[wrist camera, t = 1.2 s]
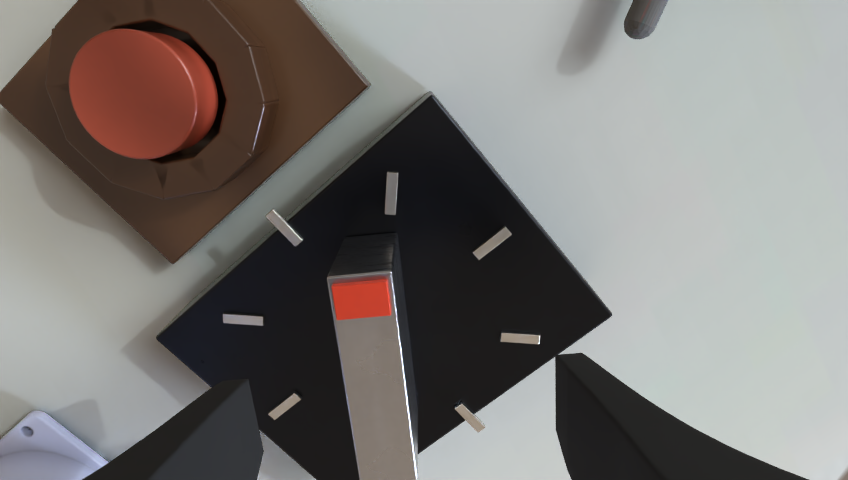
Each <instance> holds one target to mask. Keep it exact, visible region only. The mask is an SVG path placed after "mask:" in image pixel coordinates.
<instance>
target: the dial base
mask: <svg viewBox="0 0 848 480" xmlns="http://www.w3.org/2000/svg"><path fill="white" fill-rule="evenodd" d="M265 217H266V218H267V219H268V220H269V221H270V222H271V223H272V224H273V225H274V226H275V228H274V229H272V230H271V231H270V232H269V233H268V234H267V235H266V236H265V237H263V238H262V239H261V240H260V241H259V242H258V243H257V244H255V245H254V246H253V247H252V248H251V249H250V250H249V251H248V252H246V253H245V254H244V255H243V256H242V257H241V258H240V259H239V260H237V261H236V262H235V263H234V264H233V265H232V266H231V267H229V268H228V269H227V270H226V271H225V272H224V273H223V274H222V275H220V276H219V277H218V278H217V279H216V280H215V281H214V282H212V283H211V284H210V285H209V286H208V287H207V288H206V289H205V290H203V291H202V292H201V293H200V294H199V295H198V296H197V297H195V298H194V299H193V300H192V301H191V302H190V303H189V304H188V305H187V306H186V307H185V308H184V309H183V310H182V311H181V312H180V313H179V314H178V315H177V316H176V317H175V318H174V319H173V320H172V321H171V322H170V323H169V324H168V325H167V326H166V327H165V328H164V329H163V330H162V331H161V332H160V333H159V334H158V335H157V337H156V339H157V340H158V341H159V342H160V343H161V344H163V345H164V346H165V347H166V348H167V349H168V350H169V351H171V352H172V353H173V354H174V355H175V356H176V357H177V358H179V359H180V360H181V361H182V362H183V363H184V364H185V365H186V366H188V367H189V368H190V369H191V370H192V371H193V372H194V373H196V374H197V375H198V376H199V377H200V378H201V379H202V380H204V381H205V382H206V383H207V384H208V385H209V386H210V387H214V386H215V385H217V384H218V383H220V382H222V381H227V380H240V379H248V380H249V385H250V390H251V394H252V399H253V404H254V408H255V413H256V418H257V422H258V427H259V430H260V431H262V432H263V433H264V434H265V435H266V436H267V437H268V438H270V439H271V440H272V441H273V442H274V443H275V444H276V445H278V446H279V447H280V448H281V449H282V450H283V451H284V452H286V453H287V454H288V455H289V456H290V457H291V458H292V459H294V460H295V461H296V462H297V463H298V464H299V465H300V466H301V467H303V468H304V469H305V470H306V471H307V472H308V473H309V474H311V475H312V476H313V477H314V478H315V479H316V480H360V479H359V473H358V466H357V460H356V454H355V448H354V442H353V436H352V430H351V424H350V418H349V412H348V406H347V400H346V393H345V387H344V381H343V375H342V369H341V363H340V357H339V351H338V345H337V339H336V333H335V326H334V320H333V314H332V308H331V302H330V296H329V290H328V284H327V276H328V274H329V272H330V269H331V267H332V265H333V263H334V260H335V258H336V256H337V254H338V251H339V249H340V247H341V245H342V242H343V240H344V238H346V237H354V236H365V235H376V234H386V233H397V234H398V242H399V251H400V259H401V268H402V277H403V285H404V294H405V302H406V311H407V320H408V328H409V337H410V346H411V354H412V363H413V371H414V380H415V389H416V397H417V406H418V454H419V453H420V452H422V451H423V450H424V449H426V448H427V447H429V446H430V445H431V444H433V443H434V442H436V441H437V440H438V439H440V438H441V437H443V436H444V435H445V434H447V433H448V432H450V431H451V430H452V429H454V428H455V427H457V426H458V425H460V424H461V423H462V422H464V421H465V420H466V421H467V422H468V423H469V424H470V425H471V426H472V427H473V428H474V429H475V430H476V431H477V432H480V431H481V430H482V429H484V428H485V425H484V424H483V423H482V422H481V421H480V420H479V419H478V418H477V417H476V416H475V415H474V414H475V413H476V412H478V411H479V410H481V409H482V408H483V407H485V406H486V405H488V404H489V403H490V402H492V401H493V400H495V399H496V398H497V397H499V396H500V395H502V394H503V393H504V392H506V391H507V390H509V389H510V388H512V387H513V386H514V385H516V384H517V383H519V382H520V381H521V380H523V379H524V378H526V377H527V376H528V375H530V374H531V373H533V372H534V371H535V370H537V369H538V368H540V367H541V366H542V365H544V364H545V363H547V362H548V361H549V360H551V359H552V358H554V357H555V355H558V354H559V353H561V352H562V351H564V350H565V349H566V348H568V347H569V346H571V345H572V344H573V343H575V342H576V341H578V340H579V339H580V338H582V337H583V336H585V335H586V334H587V333H589V332H590V331H592V330H593V329H594V328H596V327H597V326H599V325H600V324H601V323H603V322H604V321H606V320H607V319H609V318H610V317H611V316H612V313H611V312H610V310H609V309H608V308H607V307H606V305H605V304H604V303H603V302H602V300H601V299H600V298H599V296H598V295H597V294H596V293H595V291H594V290H593V289H592V288H591V286H590V285H589V284H588V283H587V281H586V280H585V279H584V278H583V276H582V275H581V274H580V273H579V272H578V270H577V269H576V268H575V267H574V265H573V264H572V263H571V262H570V261H569V259H568V258H567V257H566V256H565V254H564V253H563V252H562V251H561V250H560V248H559V247H558V246H557V245H556V243H555V242H554V241H553V240H552V238H551V237H550V236H549V235H548V234H547V232H546V231H545V230H544V229H543V227H542V226H541V225H540V224H539V223H538V221H537V220H536V219H535V218H534V216H533V215H532V214H531V213H530V212H529V210H528V209H527V208H526V207H525V205H524V204H523V203H522V202H521V201H520V199H519V198H518V197H517V196H516V194H515V193H514V192H513V191H512V189H511V188H510V187H509V186H508V185H507V183H506V182H505V181H504V180H503V178H502V177H501V176H500V175H499V174H498V172H497V171H496V170H495V169H494V167H493V166H492V165H491V164H490V163H489V161H488V160H487V159H486V158H485V156H484V155H483V154H482V153H481V151H480V150H479V149H478V148H477V147H476V145H475V144H474V143H473V142H472V140H471V139H470V138H469V137H468V136H467V134H466V133H465V132H464V131H463V129H462V128H461V127H460V126H459V125H458V123H457V122H456V121H455V120H454V118H453V117H452V116H451V115H450V114H449V112H448V111H447V110H446V109H445V107H444V106H443V105H442V104H441V102H440V101H439V100H438V99H437V98H436V96H435V95H434V94H433V93H432V92H431V91H429V92H428V93H426V94H425V95H424V96H423V97H422V98H421V99H420V100H419V101H417V102H416V103H415V104H414V105H413V106H412V107H411V108H409V109H408V110H407V111H406V112H405V113H404V114H403V115H402V116H400V117H399V118H398V119H397V120H396V121H395V122H394V123H392V124H391V125H390V126H389V127H388V128H387V129H386V130H385V131H383V132H382V133H381V134H380V135H379V136H378V137H377V138H375V139H374V140H373V141H372V142H371V143H370V144H369V145H368V146H366V147H365V148H364V149H363V150H362V151H361V152H360V153H359V154H357V155H356V156H355V157H354V158H353V159H352V160H351V161H349V162H348V163H347V164H346V165H345V166H344V167H343V168H342V169H340V170H339V171H338V172H337V173H336V174H335V175H334V176H332V177H331V178H330V179H329V180H328V181H327V182H326V183H325V184H323V185H322V186H321V187H320V188H319V189H318V190H317V191H315V192H314V193H313V194H312V195H311V196H310V197H309V198H308V199H306V200H305V201H304V202H303V203H302V204H301V205H300V206H299V207H297V208H296V209H295V210H294V211H293V212H292V213H291V214H289V215H288V216H287V217H286V218H285V219H284V218H283V217H282V216H281V215H280V214H279V213H278V212H277V211H276V210H275V209H272V210H271V211H270V212H269V213H268V214H267V215H266V216H265Z"/></svg>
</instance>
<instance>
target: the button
mask: <svg viewBox="0 0 848 480" xmlns="http://www.w3.org/2000/svg"><path fill="white" fill-rule="evenodd" d="M69 93H70V98H71V102H72V105H73V108H74V111H75V113H76V115H77V117H78V119H79V120H80V122H81V124H82V125H83V127H84V128H85V129H86V131H87V132H88V133H89V134H90V135H91V136H92V137H93V138H94V139H95V140H96V141H97V142H99V143H100V144H101V145H103V146H104V147H106V148H107V149H109V150H111V151H113V152H115V153H117V154H119V155H122V156H125V157H128V158H133V159H143V160H148V159H156V158H160V157H163V156H166V155H169V154H172V153H175V152H178V151H181V150H184V149H187V148H189V147H192V146H193V145H195V144H197V143H198V142H199V141H200V140H202V139H203V138H204V137H205V136H206V134H207V133H208V132H209V130H210V129H211V127H212V125H213V123H214V121H215V118H216V114H217V108H218V94H217V88H216V84H215V81H214V78H213V75H212V73H211V71H210V69H209V67H208V66H207V64H206V63H205V61H204V60H203V59H202V58H201V56H200V55H199V54H198V53H197V52H196V51H195V50H194V49H193V48H191V47H190V46H189V45H187V44H186V43H184V42H182V41H181V40H179V39H177V38H175V37H172V36H169V35H166V34H161V33H155V32H148V31H141V30H134V29H112V30H108V31H105V32H102V33H100V34H98V35H96V36H94V37H93V38H91V39H90V40H88V41H87V42H86V43H85V44H84V45H83V46H82V47H81V49H80V50H79V51H78V53H77V54H76V56H75V58H74V60H73V63H72V66H71V69H70V74H69Z"/></svg>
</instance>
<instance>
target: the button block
mask: <svg viewBox="0 0 848 480" xmlns="http://www.w3.org/2000/svg"><path fill="white" fill-rule="evenodd" d="M112 29H134V30H141V31H148V32H155V33H161V34H166V35H169V36H172V37H175V38H177V39H179V40H181V41H182V42H184V43H186V44H187V45H189V46H190V47H191V48H193V49H194V50H195V51H196V52H197V53H198V54H199V55H200V56H201V58H202V59H203V60H204V61H205V63H206V64H207V66H208V67H209V69H210V71H211V73H212V75H213V78H214V81H215V84H216V88H217V94H218V108H217V114H216V118H215V121H214V123H213V125H212V127H211V129H210V130H209V132H208V133H207V134H206V136H205V137H204V138H203V139H202V140H200V141H199V142H198V143H197V144H195V145H193V146H192V147H189V148H187V149H184V150H181V151H178V152H175V153H172V154H169V155H166V156H163V157H160V158H156V159H148V160H143V159H133V158H128V157H125V156H122V155H119V154H117V153H115V152H113V151H111V150H109V149H107V148H106V147H104V146H103V145H101V144H100V143H99V142H97V141H96V140H95V139H94V138H93V137H92V136H91V135H90V134H89V133H88V132H87V131H86V129H85V128H84V127H83V125H82V124H81V122H80V120H79V119H78V117H77V115H76V113H75V111H74V108H73V105H72V102H71V98H70V93H69V74H70V69H71V66H72V63H73V60H74V58H75V56H76V54H77V53H78V51H79V50H80V49H81V47H82V46H83V45H84V44H85V43H86V42H87V41H88V40H90V39H91V38H93V37H94V36H96V35H98V34H100V33H102V32H105V31H108V30H112ZM370 86H371V84H370V83H369V81H368V80H367V79H366V78H365V77H364V75H363V74H362V73H361V72H360V71H359V70H358V68H357V67H356V66H355V65H354V64H353V62H352V61H351V60H350V59H349V58H348V57H347V55H346V54H345V53H344V52H343V51H342V49H341V48H340V47H339V46H338V45H337V44H336V42H335V41H334V40H333V39H332V38H331V37H330V35H329V34H328V33H327V32H326V31H325V29H324V28H323V27H322V26H321V25H320V24H319V22H318V21H317V20H316V19H315V18H314V16H313V15H312V14H311V13H310V12H309V11H308V9H307V8H306V7H305V6H304V5H303V3H302V2H301V1H300V0H78V1H77V2H76V3H75V4H74V6H73V7H72V8H71V9H70V10H69V11H68V12H67V13H66V15H65V16H64V17H63V18H62V19H61V20H60V21H59V22H58V23H57V25H56V26H55V29H52V35H51V36H50V37H49V38H48V39H47V40H46V42H45V43H44V44H43V45H42V46H41V47H40V48H39V49H38V50H37V52H36V53H35V54H34V55H33V56H32V57H31V58H30V59H29V60H28V62H27V63H26V64H25V65H24V66H23V67H22V68H21V69H20V70H19V72H18V73H17V74H16V75H15V76H14V77H13V78H12V79H11V81H10V82H9V83H8V84H7V85H6V86H5V87H4V88H3V89H2V91H1V92H0V104H1V105H2V106H3V107H4V108H5V109H7V110H8V111H9V112H10V113H11V114H12V115H13V116H14V117H15V118H16V119H17V120H18V121H19V122H20V123H22V124H23V125H24V126H25V127H26V128H27V129H28V130H29V131H30V132H31V133H32V134H33V135H34V136H35V137H37V138H38V139H39V140H40V141H41V142H42V143H43V144H44V145H45V146H46V147H47V148H48V149H49V150H51V151H52V152H53V153H54V154H55V155H56V156H57V157H58V158H59V159H60V160H61V161H62V162H63V163H64V164H66V165H67V166H68V167H69V168H70V169H71V170H72V171H73V172H74V173H75V174H76V175H77V176H78V177H79V178H81V179H82V180H83V181H84V182H85V183H86V184H87V185H88V186H89V187H90V188H91V189H92V190H93V191H95V192H96V193H97V194H98V195H99V196H100V197H101V198H102V199H103V200H104V201H105V202H106V203H107V204H108V205H110V206H111V207H112V208H113V209H114V210H115V211H116V212H117V213H118V214H119V215H120V216H121V217H122V218H123V219H125V220H126V221H127V222H128V223H129V224H130V225H131V226H132V227H133V228H134V229H135V230H136V231H137V232H139V233H140V234H141V235H142V236H143V237H144V238H145V239H146V240H147V241H148V242H149V243H150V244H151V245H152V246H154V247H155V248H156V249H157V250H158V251H159V252H160V253H161V254H162V255H163V256H164V257H165V258H166V259H168V260H169V261H170V262H171V263H172V264H175V263H176V262H177V261H178V260H180V259H181V258H182V257H183V256H185V255H186V254H187V253H188V252H189V251H190V250H191V249H193V248H194V247H195V246H196V245H197V244H198V243H199V242H200V241H201V240H202V239H204V238H205V237H206V236H207V235H208V234H209V233H210V232H211V231H212V230H213V229H215V228H216V227H217V226H218V225H219V224H220V223H221V222H222V221H223V220H224V219H225V218H227V217H228V216H229V215H230V214H231V213H232V212H233V211H234V210H235V209H236V208H238V207H239V206H240V205H241V204H242V203H243V202H244V201H245V200H246V199H247V198H249V197H250V196H251V195H252V194H253V193H254V192H255V191H256V190H257V189H258V188H259V187H261V186H262V185H263V184H264V183H265V182H266V181H267V180H268V179H269V178H270V177H272V176H273V175H274V174H275V173H276V172H277V171H278V170H279V169H280V168H281V167H283V166H284V165H285V164H286V163H287V162H288V161H289V160H290V159H291V158H292V157H294V156H295V155H296V154H297V153H298V152H299V151H300V150H301V149H302V148H303V147H304V146H306V145H307V144H308V143H309V142H310V141H311V140H312V139H313V138H314V137H315V136H317V135H318V134H319V133H320V132H321V131H322V130H323V129H324V128H325V127H326V126H328V125H329V124H330V123H331V122H332V121H333V120H334V119H335V118H336V117H337V116H338V115H340V114H341V113H342V112H343V111H344V110H345V109H346V108H347V107H348V106H349V105H351V104H352V103H353V102H354V101H355V100H356V99H357V98H358V97H359V96H360V95H362V94H363V93H364V92H365V91H366V90H367V89H368V88H369V87H370Z"/></svg>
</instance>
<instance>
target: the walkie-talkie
mask: <svg viewBox="0 0 848 480" xmlns="http://www.w3.org/2000/svg"><path fill="white" fill-rule="evenodd" d="M667 2H668V0H633V2H632V5H631V7H630V9H629V11H628V14H627V16H626V18H625V21H624V29H625V32H626V34H627V35H628V36H629V37H631V38H633V39H643V38H645V37H648V36H649V35H650V34H651V33H652V32H653V31H654V30H655V27H656V25H657V23H658V21H659V19H660V17H661V15H662V12H663V10H664V8H665V6H666V4H667Z"/></svg>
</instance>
